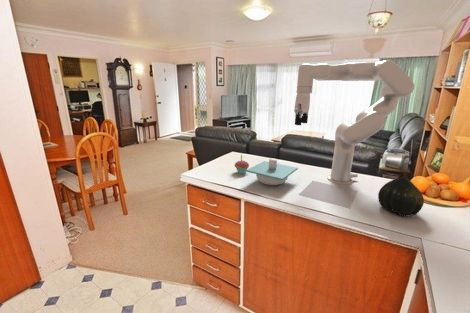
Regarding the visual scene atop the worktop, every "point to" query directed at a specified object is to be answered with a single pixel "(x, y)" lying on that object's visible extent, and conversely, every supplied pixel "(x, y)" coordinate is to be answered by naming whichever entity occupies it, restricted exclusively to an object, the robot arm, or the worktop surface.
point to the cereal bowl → (270, 180)
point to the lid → (272, 169)
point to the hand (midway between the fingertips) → (301, 124)
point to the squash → (401, 197)
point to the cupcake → (241, 166)
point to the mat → (330, 194)
